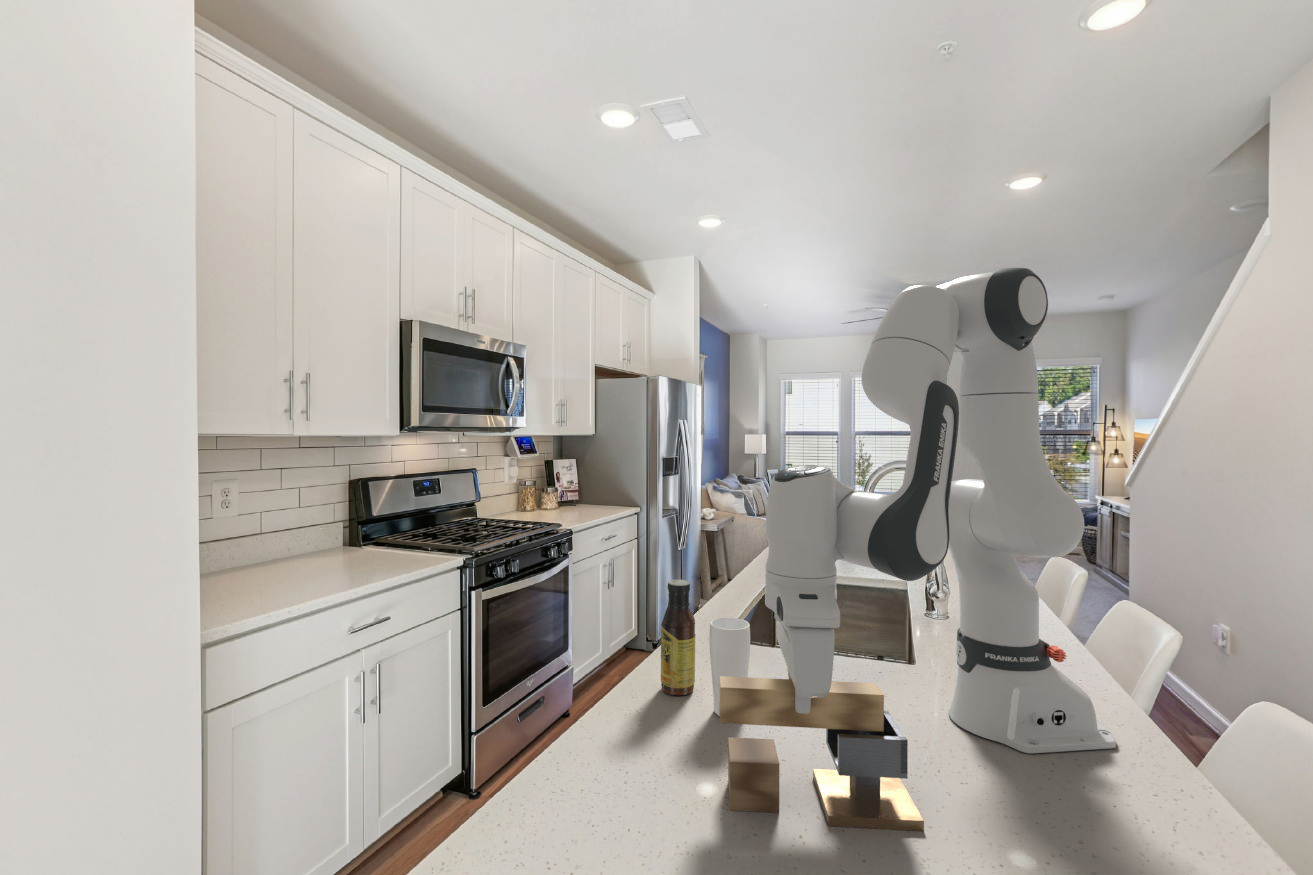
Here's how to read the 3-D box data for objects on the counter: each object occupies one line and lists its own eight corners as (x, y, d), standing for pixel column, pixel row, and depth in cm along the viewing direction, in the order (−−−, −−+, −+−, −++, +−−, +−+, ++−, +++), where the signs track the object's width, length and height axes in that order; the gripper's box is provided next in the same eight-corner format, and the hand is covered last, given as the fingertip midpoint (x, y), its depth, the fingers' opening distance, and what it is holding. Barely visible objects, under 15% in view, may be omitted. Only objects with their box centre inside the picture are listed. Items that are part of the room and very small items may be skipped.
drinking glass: (749, 724, 95) (749, 631, 95) (707, 720, 97) (707, 628, 97) (751, 705, 102) (751, 618, 102) (711, 702, 103) (711, 615, 103)
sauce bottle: (659, 683, 111) (659, 577, 111) (692, 682, 112) (692, 576, 112) (662, 699, 105) (662, 586, 104) (697, 697, 105) (697, 585, 105)
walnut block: (773, 784, 79) (773, 739, 79) (779, 812, 73) (779, 764, 73) (728, 781, 80) (728, 737, 79) (730, 810, 74) (730, 761, 74)
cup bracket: (896, 781, 80) (896, 707, 80) (924, 830, 70) (924, 745, 70) (813, 777, 81) (813, 703, 81) (828, 825, 71) (828, 741, 71)
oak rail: (720, 723, 75) (720, 687, 75) (719, 710, 78) (719, 676, 78) (883, 731, 73) (883, 694, 73) (875, 718, 77) (875, 683, 77)
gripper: (766, 573, 86) (765, 669, 86) (785, 616, 66) (784, 740, 66) (811, 575, 86) (809, 671, 86) (844, 618, 65) (842, 743, 65)
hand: (798, 701), depth 76 cm, fingers closed on oak rail, 3 cm apart
